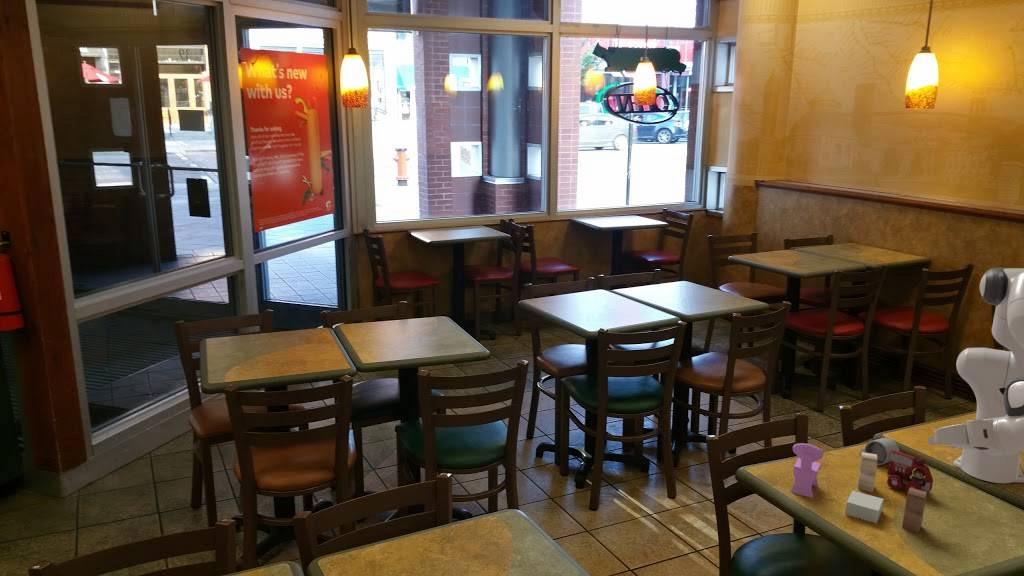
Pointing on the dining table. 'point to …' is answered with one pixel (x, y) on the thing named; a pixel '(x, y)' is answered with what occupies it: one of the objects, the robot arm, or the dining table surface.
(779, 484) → the dining table surface
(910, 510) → the walnut block
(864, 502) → the pedestal block
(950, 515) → the dining table surface
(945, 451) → the dining table surface
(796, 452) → the toy chair
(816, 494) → the dining table surface
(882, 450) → the ceramic mug
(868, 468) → the maple block
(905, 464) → the toy fire truck
